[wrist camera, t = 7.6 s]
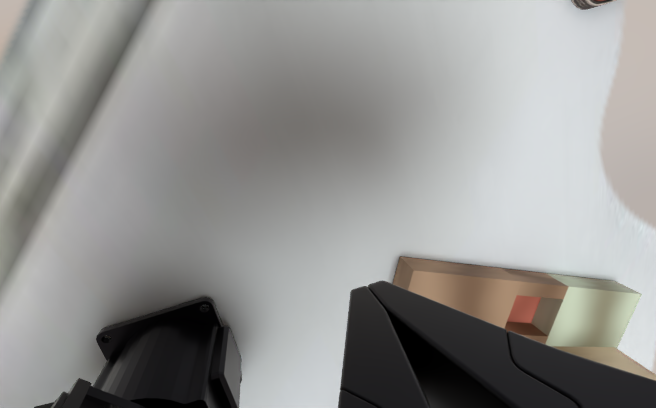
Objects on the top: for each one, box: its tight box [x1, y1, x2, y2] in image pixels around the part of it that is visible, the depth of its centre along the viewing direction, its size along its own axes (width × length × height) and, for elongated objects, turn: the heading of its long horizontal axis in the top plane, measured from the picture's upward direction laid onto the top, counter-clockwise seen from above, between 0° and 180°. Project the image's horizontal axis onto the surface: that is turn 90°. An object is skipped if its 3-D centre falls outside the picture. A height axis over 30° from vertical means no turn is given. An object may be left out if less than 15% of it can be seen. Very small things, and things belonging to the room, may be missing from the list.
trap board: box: [393, 257, 642, 349], centre depth 26 cm, size 19×16×2 cm
